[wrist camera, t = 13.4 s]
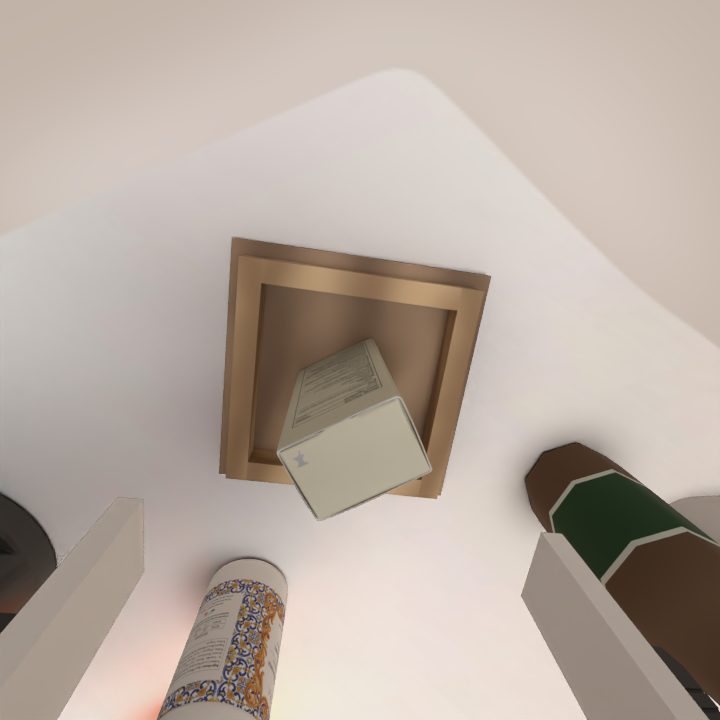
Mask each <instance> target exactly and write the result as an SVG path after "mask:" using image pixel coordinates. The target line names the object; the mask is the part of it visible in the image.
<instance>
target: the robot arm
mask: <svg viewBox="0 0 720 720" xmlns="http://www.w3.org/2000/svg"><path fill="white" fill-rule="evenodd" d="M143 572H144V499H132V498H120V497H118V498H117V499H116V500H115V501H114V502H113V504H112V505H111V506H110V507H109V508H108V509H107V511H106V512H105V513H104V514H103V515H102V516H101V518H100V519H99V520H98V521H97V522H96V523H95V525H94V526H93V527H92V528H91V529H90V530H89V531H88V533H87V534H86V535H85V536H84V537H83V538H82V540H81V541H80V542H79V543H78V544H77V545H76V547H75V548H74V549H73V550H72V551H71V552H70V554H69V555H68V556H67V557H66V558H65V559H64V560H63V562H62V563H61V564H60V565H59V566H58V567H57V569H56V565H55V558H54V554H53V551H52V548H51V545H50V543H49V541H48V539H47V537H46V536H45V534H44V532H43V531H42V530H41V528H40V527H39V526H38V524H37V523H36V522H35V521H34V520H33V519H32V518H31V517H30V516H29V515H28V514H27V513H26V512H25V511H24V510H22V509H21V508H20V507H19V506H17V505H16V504H15V503H13V502H12V501H10V500H8V499H7V498H5V497H3V496H1V495H0V720H57V719H58V717H59V716H60V714H61V712H62V710H63V709H64V707H65V705H66V704H67V702H68V700H69V698H70V697H71V695H72V693H73V692H74V690H75V688H76V686H77V685H78V683H79V681H80V680H81V678H82V676H83V675H84V673H85V671H86V669H87V668H88V666H89V664H90V663H91V661H92V659H93V657H94V656H95V654H96V652H97V651H98V649H99V647H100V646H101V644H102V642H103V640H104V639H105V637H106V635H107V634H108V632H109V630H110V628H111V627H112V625H113V623H114V622H115V620H116V618H117V616H118V615H119V613H120V611H121V610H122V608H123V606H124V605H125V603H126V601H127V599H128V598H129V596H130V594H131V593H132V591H133V589H134V587H135V586H136V584H137V582H138V581H139V579H140V577H141V576H142V574H143ZM521 597H522V599H523V600H524V602H525V604H526V606H527V608H528V610H529V612H530V614H531V615H532V617H533V619H534V621H535V623H536V625H537V627H538V628H539V630H540V632H541V634H542V636H543V638H544V640H545V642H546V643H547V645H548V647H549V649H550V651H551V653H552V655H553V657H554V658H555V660H556V662H557V664H558V666H559V668H560V670H561V671H562V673H563V675H564V677H565V679H566V681H567V683H568V685H569V686H570V688H571V690H572V692H573V694H574V696H575V698H576V700H577V701H578V703H579V705H580V707H581V709H582V711H583V713H584V715H585V716H586V718H587V720H720V712H719V710H718V707H717V706H716V705H715V703H714V702H713V701H712V700H711V699H710V697H709V696H708V695H707V694H706V693H703V691H702V688H701V687H700V685H699V684H698V683H697V682H696V681H695V679H694V678H693V677H692V676H691V675H690V673H689V672H688V671H687V670H686V669H685V667H684V666H683V665H682V664H680V663H679V662H678V661H677V660H676V659H675V658H673V657H672V656H671V655H670V654H669V653H668V652H666V651H665V650H664V649H663V648H662V647H661V646H651V645H650V644H649V643H648V642H647V640H646V639H645V638H644V637H643V635H642V634H641V633H640V632H639V630H638V629H637V628H636V627H635V625H634V624H633V623H632V621H631V620H630V619H629V618H628V616H627V615H626V614H625V613H624V611H623V610H622V609H621V608H620V606H619V605H618V604H617V603H616V601H615V600H614V599H613V598H612V596H611V595H610V594H609V592H608V591H607V590H606V589H605V587H604V586H603V585H602V584H601V582H600V581H599V580H598V579H597V577H596V576H595V575H594V574H593V572H592V571H591V570H590V568H589V567H588V566H587V565H586V563H585V562H584V561H583V560H582V558H581V557H580V556H579V555H578V553H577V552H576V551H575V550H574V548H573V547H572V546H571V545H570V543H569V542H568V541H567V539H566V538H565V537H564V536H563V534H558V533H546V532H541V534H540V538H539V541H538V544H537V547H536V550H535V553H534V556H533V560H532V563H531V566H530V569H529V572H528V575H527V578H526V582H525V585H524V588H523V591H522V594H521Z"/></svg>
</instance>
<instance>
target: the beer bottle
mask: <svg viewBox="0 0 720 720" xmlns="http://www.w3.org/2000/svg"><path fill="white" fill-rule="evenodd" d="M526 485H527V490H528V494H529V499H530V503H531V508H532V510H533V512H534V513H535V515H536V516H537V518H538V520H539V521H540V523H541V524H542V526H543V527H544V528H545V530H546V531H547V533H558V534H563V536H564V537H565V538H566V539H567V541H568V542H569V543H570V545H571V546H572V547H573V548H574V550H575V551H576V552H577V553H578V555H579V556H580V557H581V558H582V560H583V561H584V562H585V563H586V565H587V566H588V567H589V568H590V570H591V571H592V572H593V574H594V575H595V576H596V577H597V579H598V580H599V581H600V582H601V584H602V585H603V586H604V587H605V589H606V590H607V591H608V592H609V594H610V595H611V596H612V598H613V599H614V600H615V601H616V603H617V604H618V605H619V606H620V608H621V609H622V610H623V611H624V613H625V614H626V615H627V616H628V618H629V619H630V620H631V621H632V623H633V624H634V625H635V627H636V628H637V629H638V630H639V632H640V633H641V634H642V635H643V637H644V638H645V639H646V640H647V642H648V643H649V644H650V645H651V646H661V647H662V648H663V649H664V650H665V651H666V652H668V653H669V654H670V655H671V656H672V657H673V658H675V659H676V660H677V661H678V662H679V663H680V664H682V665H683V666H684V667H685V669H686V670H687V671H688V672H689V673H690V675H691V676H692V677H693V678H694V679H695V681H696V682H697V683H698V684H699V685H700V687H701V688H702V691H703V692H704V693H706V694H708V695H709V696H710V697H711V698H712V699H713V700H715V701H716V702H717V703H718V704H719V705H720V545H719V544H718V543H717V542H716V541H714V540H713V539H712V538H711V537H709V536H708V535H707V534H705V533H704V532H703V531H702V530H700V529H699V528H698V527H697V526H695V525H694V524H693V523H691V522H690V521H689V520H688V519H686V518H685V517H684V516H683V515H681V514H680V513H679V512H678V511H676V510H675V509H674V508H672V507H671V506H670V505H669V504H667V503H666V502H665V501H664V500H662V499H661V498H660V497H658V496H657V495H656V494H655V493H653V492H652V491H651V490H650V489H648V488H647V487H646V486H645V485H643V484H642V483H641V482H639V481H638V480H637V479H636V478H634V477H633V476H632V475H631V474H629V473H628V472H627V471H625V470H624V469H623V468H622V467H620V466H619V465H617V464H616V463H614V462H613V461H611V460H610V459H609V458H607V457H605V456H603V455H601V454H599V453H597V452H595V451H593V450H591V449H589V448H587V447H585V446H583V445H581V444H579V443H574V444H571V445H568V446H564V447H561V448H558V449H554V450H551V451H548V452H544V453H543V455H542V456H541V457H540V459H539V460H538V462H537V463H536V464H535V466H534V467H533V469H532V470H531V472H530V473H529V474H528V476H527V477H526Z"/></svg>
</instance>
